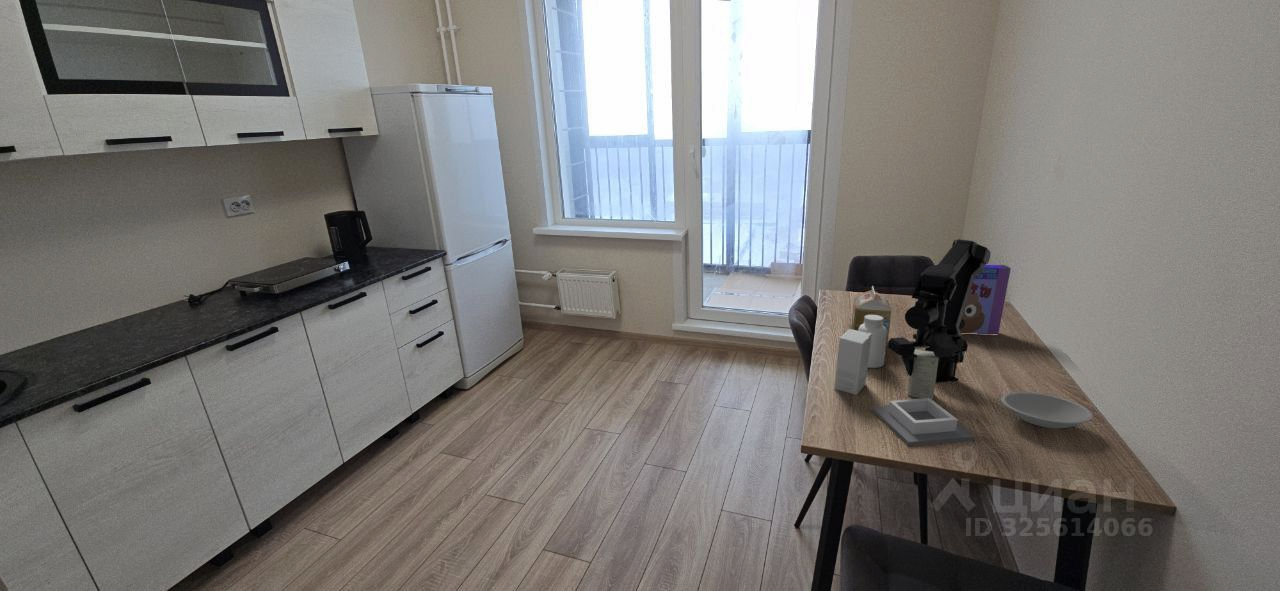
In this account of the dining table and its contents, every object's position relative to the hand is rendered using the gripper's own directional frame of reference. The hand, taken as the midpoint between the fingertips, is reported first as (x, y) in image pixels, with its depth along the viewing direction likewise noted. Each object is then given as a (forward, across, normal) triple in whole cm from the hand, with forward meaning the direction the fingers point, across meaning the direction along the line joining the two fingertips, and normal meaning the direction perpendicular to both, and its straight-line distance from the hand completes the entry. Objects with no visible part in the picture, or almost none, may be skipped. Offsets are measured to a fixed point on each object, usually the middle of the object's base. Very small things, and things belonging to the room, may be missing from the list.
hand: (923, 374), depth 139 cm
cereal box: (+6, +43, +40) cm, 59 cm away
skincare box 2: (+6, 0, 0) cm, 6 cm away
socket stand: (+6, -9, -14) cm, 18 cm away
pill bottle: (+6, -3, +21) cm, 22 cm away
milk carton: (+6, +4, +35) cm, 36 cm away
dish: (+6, +19, -18) cm, 27 cm away
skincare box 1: (+6, -16, +7) cm, 19 cm away
